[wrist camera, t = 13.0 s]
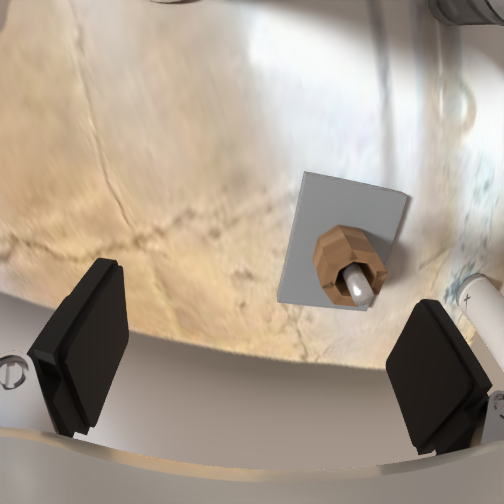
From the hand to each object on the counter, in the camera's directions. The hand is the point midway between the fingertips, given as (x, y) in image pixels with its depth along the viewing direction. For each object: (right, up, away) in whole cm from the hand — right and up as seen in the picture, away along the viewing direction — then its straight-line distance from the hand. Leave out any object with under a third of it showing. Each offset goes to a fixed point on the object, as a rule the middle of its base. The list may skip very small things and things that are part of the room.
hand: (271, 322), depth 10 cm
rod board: (+10, +3, +28) cm, 30 cm away
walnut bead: (+10, +2, +27) cm, 29 cm away
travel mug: (+33, -4, +32) cm, 46 cm away
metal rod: (+10, +2, +27) cm, 29 cm away
